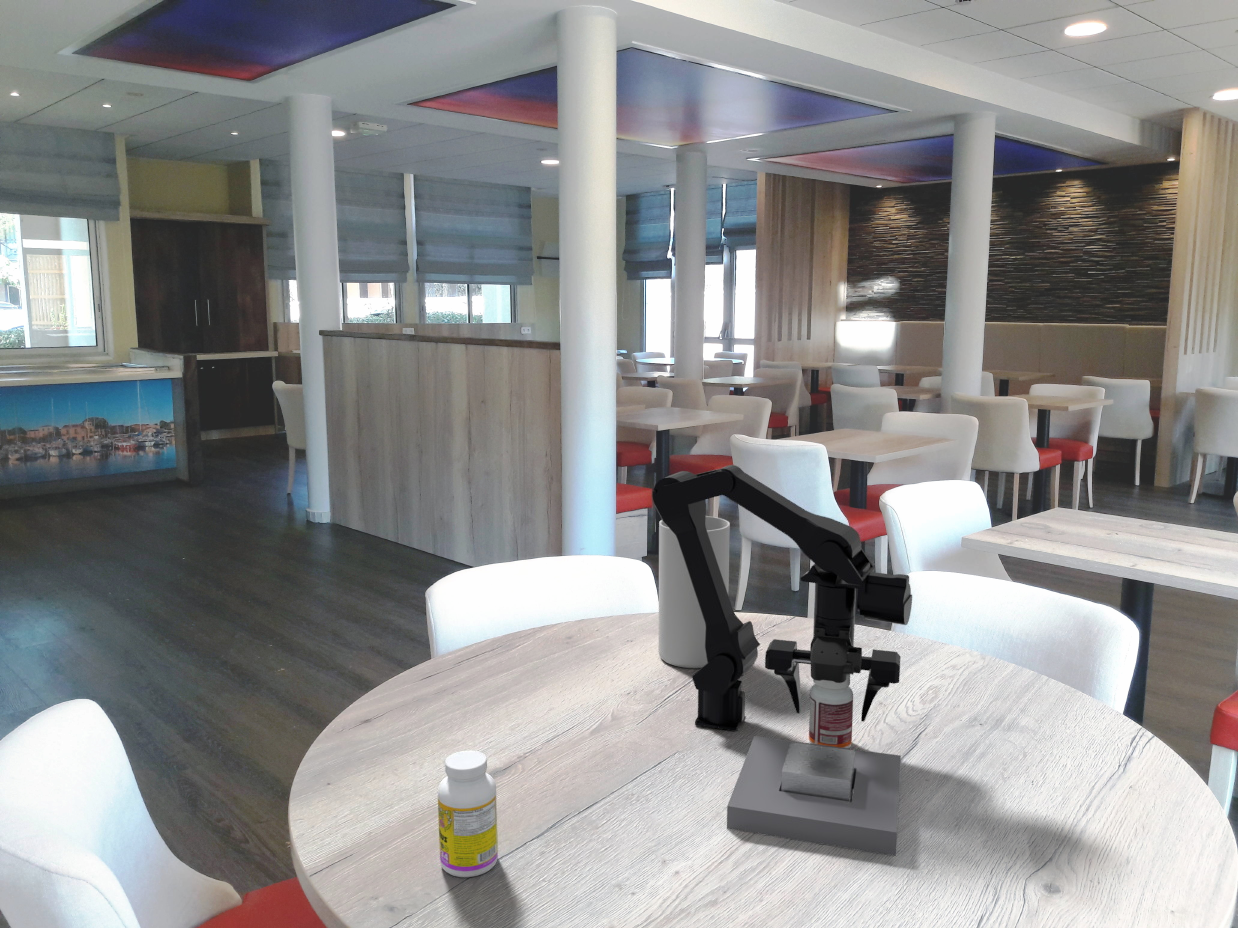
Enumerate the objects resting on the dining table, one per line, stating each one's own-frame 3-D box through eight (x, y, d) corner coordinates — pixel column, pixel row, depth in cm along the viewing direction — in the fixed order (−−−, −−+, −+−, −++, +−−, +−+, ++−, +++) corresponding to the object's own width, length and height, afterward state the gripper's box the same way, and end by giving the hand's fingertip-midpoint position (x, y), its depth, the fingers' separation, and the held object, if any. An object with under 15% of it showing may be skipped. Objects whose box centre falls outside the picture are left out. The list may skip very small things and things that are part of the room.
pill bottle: (860, 746, 139) (863, 672, 137) (830, 757, 136) (833, 682, 134) (829, 730, 144) (832, 659, 143) (799, 741, 141) (801, 668, 139)
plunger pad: (781, 792, 121) (781, 770, 121) (789, 762, 129) (790, 741, 128) (849, 802, 119) (850, 780, 118) (854, 771, 127) (854, 750, 126)
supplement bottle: (443, 848, 114) (439, 746, 112) (499, 845, 114) (496, 744, 112) (437, 881, 107) (433, 774, 105) (497, 878, 108) (494, 772, 106)
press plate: (726, 828, 118) (727, 805, 117) (753, 755, 137) (754, 735, 136) (895, 855, 112) (897, 832, 111) (899, 775, 131) (900, 755, 130)
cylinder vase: (733, 649, 178) (736, 518, 174) (718, 673, 167) (720, 533, 162) (669, 641, 182) (670, 513, 178) (649, 664, 171) (650, 528, 167)
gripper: (760, 625, 132) (757, 731, 135) (901, 639, 127) (895, 749, 129) (772, 601, 143) (769, 700, 145) (902, 613, 137) (897, 715, 140)
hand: (830, 716), depth 140 cm, fingers open, 9 cm apart
